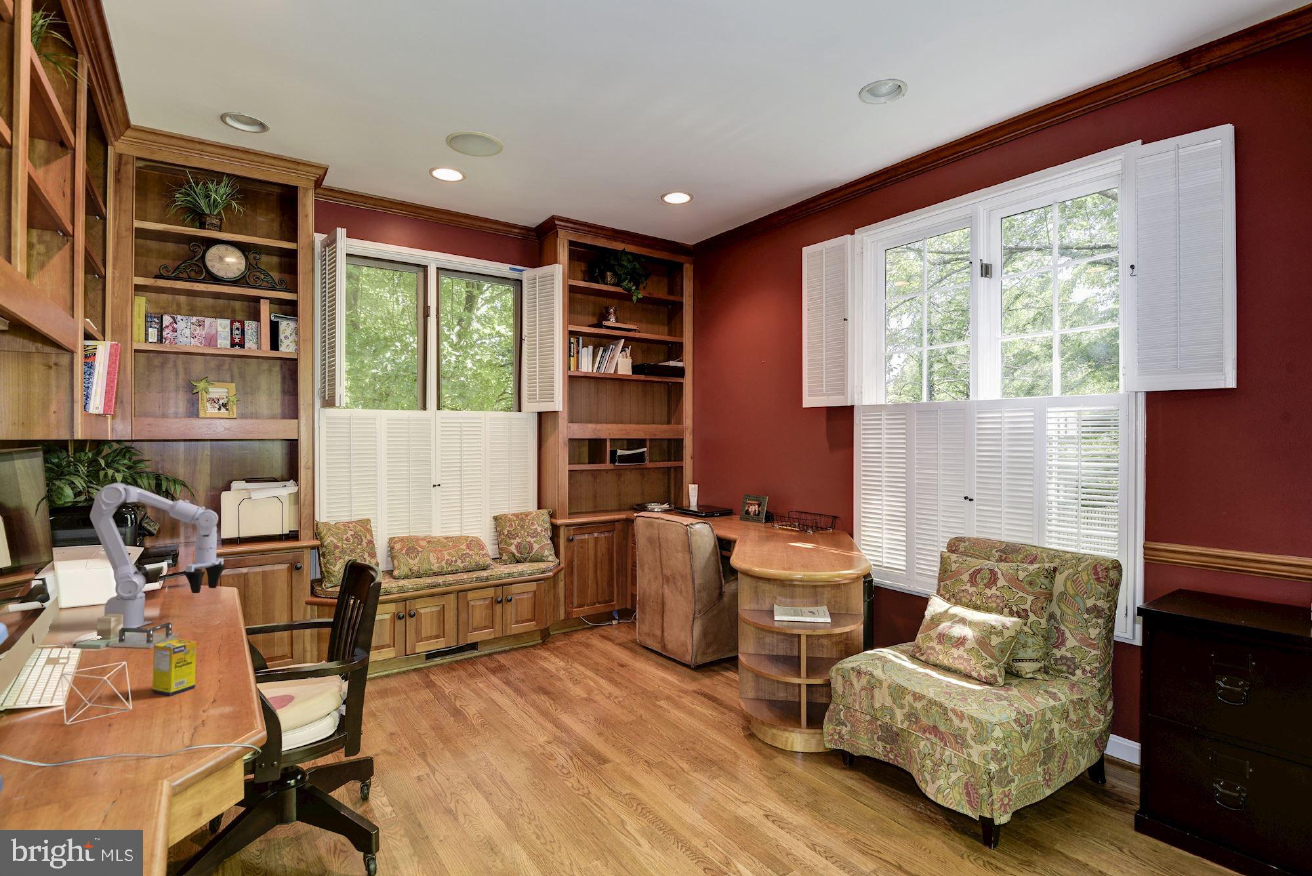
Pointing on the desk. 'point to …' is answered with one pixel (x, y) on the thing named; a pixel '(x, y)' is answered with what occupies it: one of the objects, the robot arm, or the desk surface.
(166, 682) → the supplement box
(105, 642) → the pad
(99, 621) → the maple block
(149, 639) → the beige flat handled piece
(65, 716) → the geometric polyhedron
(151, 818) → the desk surface
